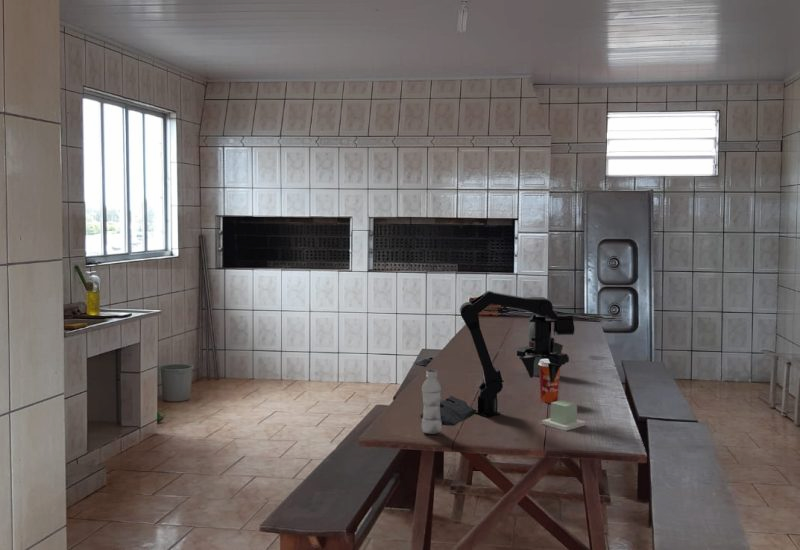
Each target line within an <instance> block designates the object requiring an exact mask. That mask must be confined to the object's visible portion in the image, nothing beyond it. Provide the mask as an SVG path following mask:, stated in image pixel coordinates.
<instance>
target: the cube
mask: <svg viewBox="0 0 800 550" xmlns="http://www.w3.org/2000/svg"><path fill="white" fill-rule="evenodd" d="M577 414H578V403H576V402H574V401H570V400H565V399H560V400H557V401H556V402H552V403H550V416H549V418H550V421H554V422H557V423H561V424H569V423H572V422H576V421H577V420H578V415H577Z"/></svg>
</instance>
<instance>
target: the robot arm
mask: <svg viewBox="0 0 800 550" xmlns="http://www.w3.org/2000/svg"><path fill="white" fill-rule="evenodd" d="M491 304H493V305H499V306H503V307H511V308H516V309H520V310H521V309H522V310H525V311H528V312H530V313H533V314H532V315H531V316H530V317H529V318H528V321H529V322H530V323H532V322H534V337H533V338H532V341H534V348H533V347H529V345H527V346H523V347H522V346H521V347H518V348H517V350H516V356H517V357H519V359H520V360H521V361H522V363H523V366H524V368H525V369H526V372H527V374H528V376H529V378H533V377H534V376H533V374H534V361H535V359H536V357H541V358H546V359H549V361H550V363H548V367H549V374H550V381H551V382H554V380H555V377H556V375H557V372H558V370H559V368H560V369H561V367H562V366H563V365H566V364H567V363H569V361H570V357H569V355H568V354H567V353H563V352H562V351H563V347H564V345H563V344H561V343H559V342H555V339H554V337H552V333H555V335H556V336H573V335H574V334H575V324H574V316H573V315H572V314H566V315H565V314H564V315H562V314H561V315H560V314H559V315H558V314H557V313H556V312H555V311H554V309H553V307H554V306H553V303H552V302H551V300H550V299H548V298H546V297H543V296H542V297H541V296H538V297H537V296H535V297H532V296H530V297H522V296H517V295H511V294H504V293H500V292H499V293H498V292H493V291H491V290H486V291H485V292H484V293H482V295H479V296H478V297H476V298H474V299H473V300H471V301H466V302H464V303H463V304H461V305H460V308H459V313H460V316H461V318H462V320H463V321H464V323H465V326H466V327H467V329H468V330H469V332H470V335H471V338H472V342H473V344H474V347H475V350H476V353H477V355H478V358H479V362H480V365H481V367H482V374H483V375H482V376H483V383H482V384H480V385H479V386H478V387H477V389H478V392H479V395H478V396H477V410H476V411H475V414H477V415H478V416H479V415H480V416H483V417H486V418H487V417H488V418H489V417H493V416H497V415H500V414H501V412H500V411H498V407H499V406H498V404H499V403H498V394H499V393H501V391H502V390H503V387H504V385H503V383H504V382H505V381H504V378H503V377H502V374H501V370H500V368H499V366H497V367H496V368H495V366H494V365H493V362H492V360H491V359H492V358H491V356H490V354H489V351H488V348H487V344H486V342H485V339H484V336H483V333H482V330H481V326H480V318H479V314H480V313H482V312H483V311H484V310H485V309H486V308H488V307H489V306H490V305H491ZM535 314H536V315H537V314H538V315H541V316H543V317H536V315H535ZM546 317H548V318H549V319H547V318H546ZM539 354H541V355H539ZM544 355H546V356H544Z"/></svg>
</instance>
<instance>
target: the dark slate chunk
mask: <svg viewBox="0 0 800 550" xmlns="http://www.w3.org/2000/svg"><path fill="white" fill-rule="evenodd" d="M475 411H477V410H476V409H474V408H473V407H472V406H469V405H468V403H467V402H466V401H465V400H463V399H460V398H457V397H455V396H452V395H450V396H449V397H447V398H445V399H444V400H441V401H440V416H441V422H442V425H446V426H448V425H449V426H456V425H458V424H459V423H461V422H463V421H464V420H467V418H470V417H471V416H473V415H474V414H473V413H475ZM472 414H473V415H472ZM475 414H476V413H475ZM420 418H421V420H422V419H423V412H422V413H421V414H420Z"/></svg>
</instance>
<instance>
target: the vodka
mask: <svg viewBox="0 0 800 550" xmlns="http://www.w3.org/2000/svg"><path fill="white" fill-rule="evenodd" d="M535 316H536V317H544V316H541V315H538V314H536V315H535ZM528 327H529V328H528V332H527V333H528V335H527V337H528V339H527V340H528V347H533V348H534V341H532V338H533V337H534V322H530V325H529V326H528ZM539 355H541V354H539ZM544 356H546V355H544ZM541 359H546V358H541V357H536V359H535V361H534V374H533V377H540V373H539V365H538V363H539V361H540V360H541Z"/></svg>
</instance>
